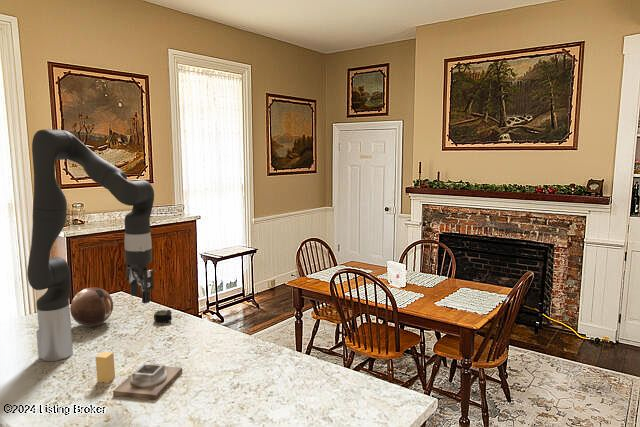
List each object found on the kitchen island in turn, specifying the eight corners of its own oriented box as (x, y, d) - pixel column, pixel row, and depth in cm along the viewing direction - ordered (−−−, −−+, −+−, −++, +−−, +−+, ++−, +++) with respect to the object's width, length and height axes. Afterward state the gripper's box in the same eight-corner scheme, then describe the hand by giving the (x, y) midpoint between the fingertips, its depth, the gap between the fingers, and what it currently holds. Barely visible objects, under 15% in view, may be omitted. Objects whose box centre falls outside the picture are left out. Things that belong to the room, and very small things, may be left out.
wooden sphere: (64, 326, 178) (61, 289, 176) (101, 315, 190) (98, 280, 188) (84, 336, 169) (81, 297, 167) (122, 323, 182) (119, 286, 179)
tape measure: (172, 323, 182) (171, 314, 182) (153, 325, 180) (153, 316, 180) (171, 317, 189) (171, 308, 188) (154, 319, 187) (153, 310, 186)
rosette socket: (113, 395, 129) (112, 380, 128) (143, 368, 145) (142, 355, 144) (156, 399, 127) (155, 384, 126) (182, 372, 143) (181, 358, 142)
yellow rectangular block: (97, 382, 136) (95, 356, 135) (104, 376, 140) (102, 351, 139) (108, 383, 136) (106, 357, 135) (115, 377, 139) (113, 352, 138)
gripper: (116, 244, 140) (118, 295, 142) (135, 253, 130) (137, 308, 132) (140, 241, 145) (142, 290, 147) (160, 249, 135) (162, 302, 137)
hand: (140, 299), depth 140 cm, fingers open, 8 cm apart
